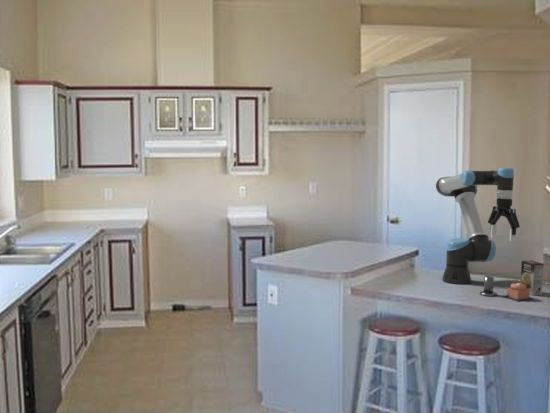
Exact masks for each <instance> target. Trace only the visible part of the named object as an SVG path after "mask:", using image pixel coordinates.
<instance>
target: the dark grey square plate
mask: <svg viewBox="0 0 550 413" xmlns="http://www.w3.org/2000/svg"><path fill="white" fill-rule="evenodd" d="M502 297H503V298H506V299H508V300H512V301H515V302H524V301H525V300H526V301H533V300H535V298H533V297H530V296H529V298H525V299H515V298H512V297H509V296H507V294H504V295H502Z"/></svg>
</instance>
